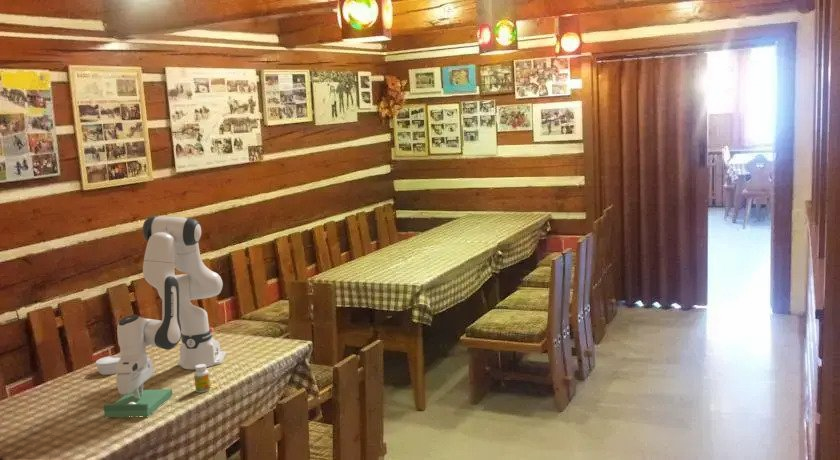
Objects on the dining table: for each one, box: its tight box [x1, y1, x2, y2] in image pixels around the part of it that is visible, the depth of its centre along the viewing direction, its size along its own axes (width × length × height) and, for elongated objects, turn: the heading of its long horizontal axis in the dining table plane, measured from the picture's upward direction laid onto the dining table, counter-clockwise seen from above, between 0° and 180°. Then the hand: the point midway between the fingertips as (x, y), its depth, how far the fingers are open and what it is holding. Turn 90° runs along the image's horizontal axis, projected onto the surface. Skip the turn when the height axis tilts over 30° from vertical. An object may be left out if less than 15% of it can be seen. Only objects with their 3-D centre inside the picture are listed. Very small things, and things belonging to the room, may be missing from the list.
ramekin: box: [95, 355, 120, 376], centre depth 319 cm, size 11×11×5 cm
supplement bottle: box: [193, 364, 211, 393], centre depth 289 cm, size 5×5×10 cm
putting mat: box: [103, 388, 174, 419], centre depth 277 cm, size 20×16×4 cm
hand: (138, 397), depth 277 cm, fingers closed
